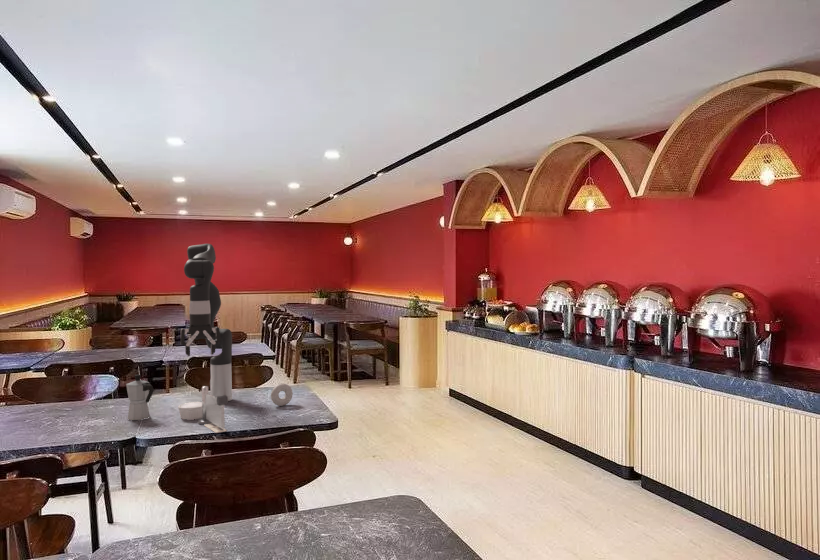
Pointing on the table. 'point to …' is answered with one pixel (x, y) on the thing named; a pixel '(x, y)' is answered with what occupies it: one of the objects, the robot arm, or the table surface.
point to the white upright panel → (213, 407)
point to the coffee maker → (139, 398)
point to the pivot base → (204, 422)
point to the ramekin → (191, 410)
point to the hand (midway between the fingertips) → (200, 355)
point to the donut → (277, 390)
